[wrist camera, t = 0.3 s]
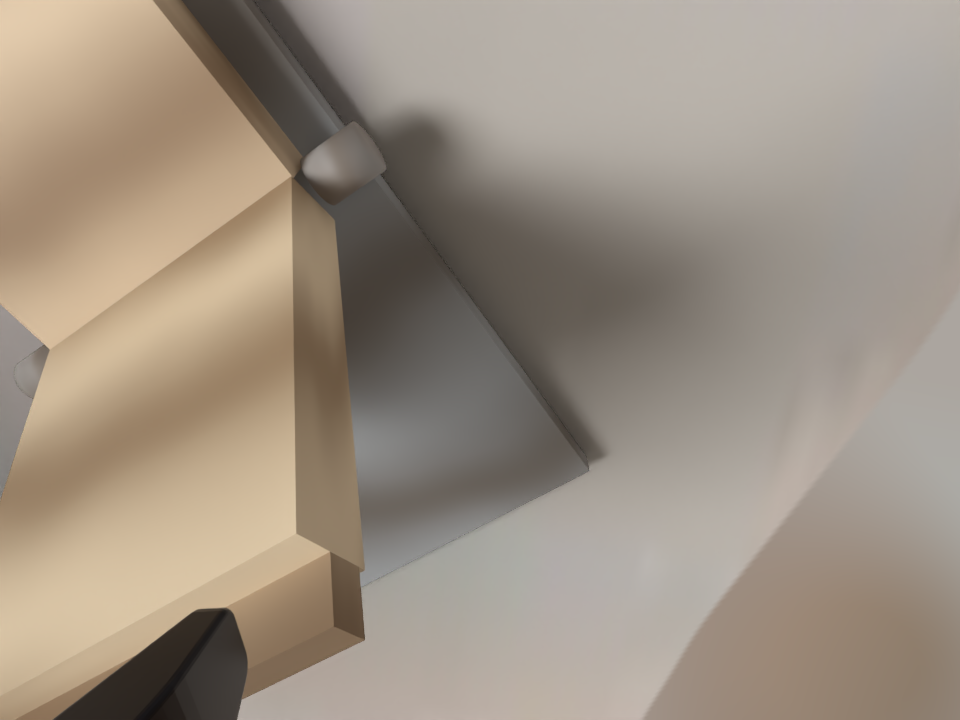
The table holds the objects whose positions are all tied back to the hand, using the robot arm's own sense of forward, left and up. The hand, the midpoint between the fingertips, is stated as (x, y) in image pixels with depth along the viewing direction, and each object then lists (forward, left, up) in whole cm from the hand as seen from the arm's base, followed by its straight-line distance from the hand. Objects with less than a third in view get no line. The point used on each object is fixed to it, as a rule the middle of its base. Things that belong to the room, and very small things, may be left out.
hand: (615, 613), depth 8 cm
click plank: (-3, -8, -7) cm, 11 cm away
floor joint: (-3, -8, -14) cm, 16 cm away
